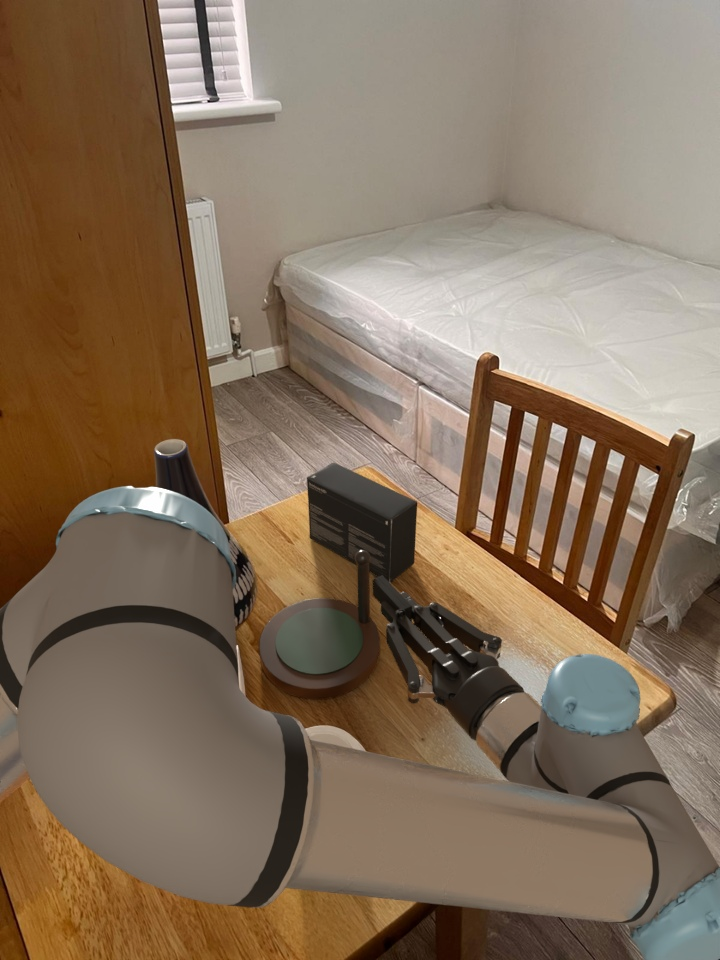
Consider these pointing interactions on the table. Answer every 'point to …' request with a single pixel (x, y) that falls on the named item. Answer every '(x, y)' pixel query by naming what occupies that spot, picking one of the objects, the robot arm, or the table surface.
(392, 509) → the box
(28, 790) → the table surface
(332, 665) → the paper towel holder
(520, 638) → the table surface
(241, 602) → the vase
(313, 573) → the table surface
